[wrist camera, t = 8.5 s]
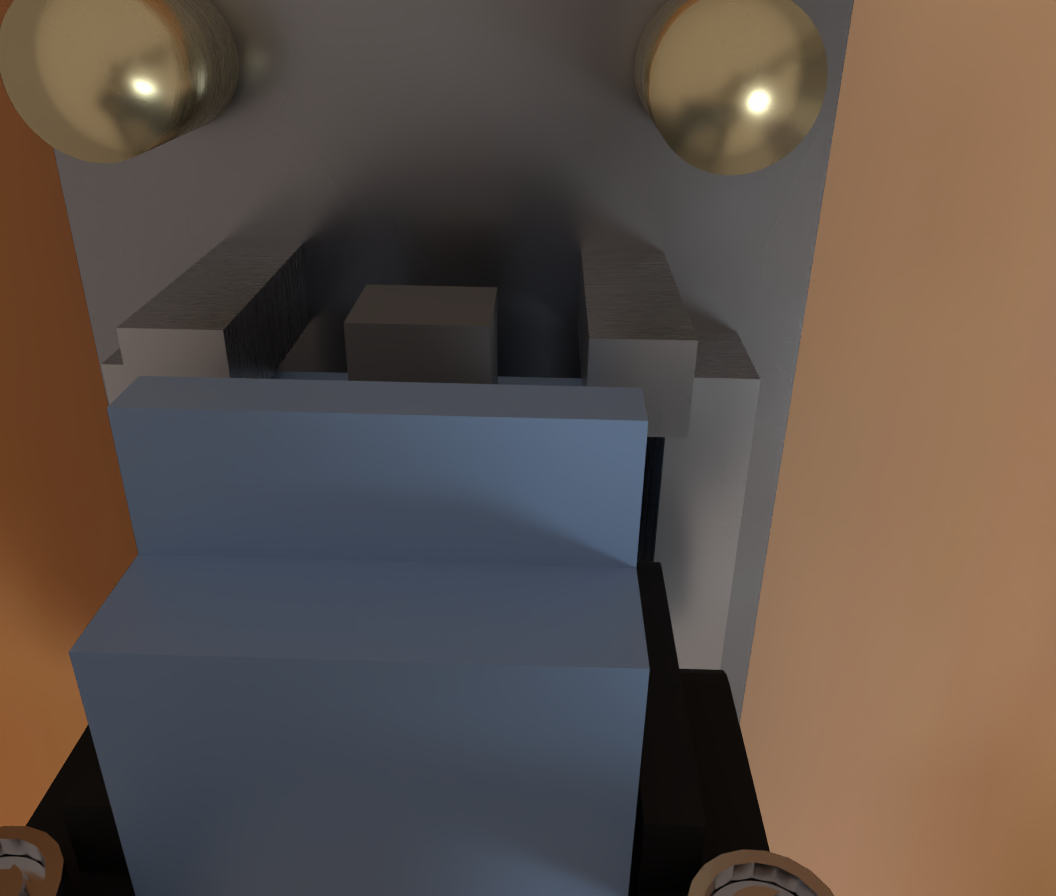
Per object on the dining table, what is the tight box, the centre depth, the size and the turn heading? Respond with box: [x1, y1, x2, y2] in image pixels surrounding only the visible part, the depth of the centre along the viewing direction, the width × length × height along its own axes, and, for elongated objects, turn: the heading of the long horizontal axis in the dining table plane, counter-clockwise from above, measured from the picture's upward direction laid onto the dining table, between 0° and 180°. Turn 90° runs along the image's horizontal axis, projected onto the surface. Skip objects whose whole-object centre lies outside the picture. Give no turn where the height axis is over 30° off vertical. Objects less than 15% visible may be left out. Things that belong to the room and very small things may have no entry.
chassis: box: [0, 0, 854, 724], centre depth 12 cm, size 15×9×4 cm, turn 179°
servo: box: [69, 284, 650, 896], centre depth 10 cm, size 10×4×6 cm, turn 179°
